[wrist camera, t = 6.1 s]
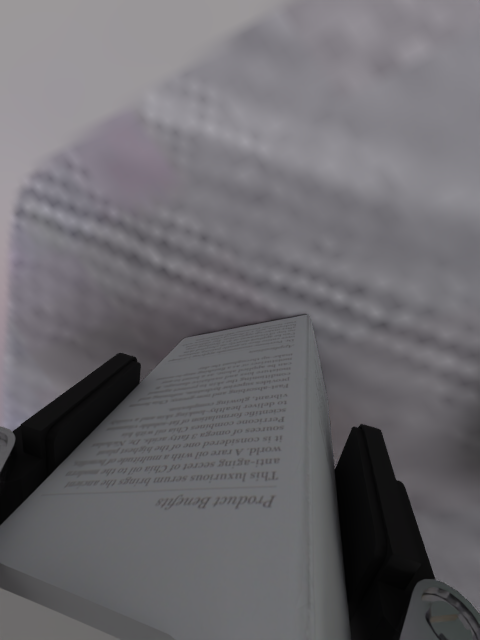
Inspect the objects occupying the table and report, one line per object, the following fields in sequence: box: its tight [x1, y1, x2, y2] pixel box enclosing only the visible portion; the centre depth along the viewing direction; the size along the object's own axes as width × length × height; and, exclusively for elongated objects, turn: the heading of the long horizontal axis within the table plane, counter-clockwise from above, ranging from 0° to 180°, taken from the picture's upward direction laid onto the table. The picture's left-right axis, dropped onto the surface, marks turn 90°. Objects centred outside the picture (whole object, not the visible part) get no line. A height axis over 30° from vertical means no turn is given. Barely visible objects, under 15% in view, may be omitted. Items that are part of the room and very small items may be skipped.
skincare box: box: [0, 315, 351, 640], centre depth 9 cm, size 6×4×12 cm
